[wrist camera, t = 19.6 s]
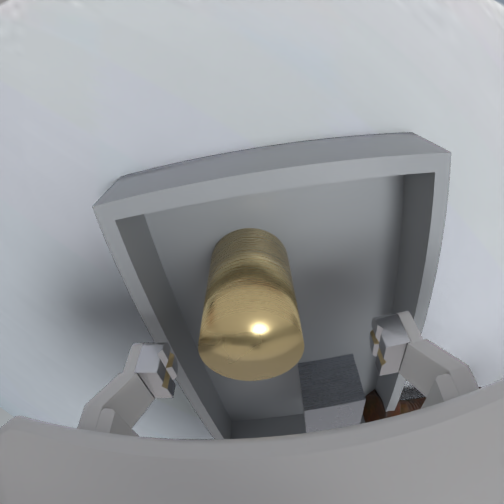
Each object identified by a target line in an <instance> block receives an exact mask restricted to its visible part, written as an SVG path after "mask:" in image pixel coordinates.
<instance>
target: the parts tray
mask: <svg viewBox="0 0 504 504" xmlns="http://www.w3.org/2000/svg"><path fill="white" fill-rule="evenodd" d="M450 167H451V152H449V151H447V150H446V149H444V148H442V147H440V146H438V145H436V144H434V143H432V142H430V141H428V140H426V139H424V138H422V137H420V136H418V135H416V134H414V133H390V134H374V135H360V136H348V137H338V138H328V139H318V140H310V141H302V142H294V143H286V144H279V145H272V146H266V147H259V148H253V149H247V150H241V151H235V152H229V153H224V154H219V155H213V156H208V157H203V158H198V159H193V160H189V161H184V162H179V163H175V164H170V165H166V166H162V167H157V168H153V169H149V170H145V171H141V172H137V173H133V174H129V175H125V176H122V177H121V178H120V179H119V180H118V181H117V182H116V183H115V184H114V185H113V186H112V187H111V188H110V189H109V190H108V191H107V192H106V193H105V194H104V195H103V196H102V197H101V198H100V199H99V200H98V201H97V202H96V203H95V204H94V205H93V206H92V208H93V210H94V213H95V216H96V218H97V221H98V223H99V226H100V228H101V231H102V233H103V236H104V238H105V240H106V243H107V245H108V248H109V250H110V252H111V254H112V257H113V259H114V261H115V264H116V266H117V268H118V270H119V272H120V275H121V277H122V279H123V281H124V283H125V285H126V287H127V290H128V292H129V294H130V296H131V298H132V300H133V302H134V304H135V306H136V308H137V310H138V312H139V314H140V316H141V318H142V320H143V322H144V324H145V325H146V327H147V329H148V331H149V333H150V335H151V337H152V339H153V340H154V342H155V343H158V342H167V343H168V344H169V345H170V347H171V350H170V352H171V353H172V354H174V355H175V357H176V359H177V363H178V373H177V377H176V378H175V379H176V381H177V382H178V384H179V386H180V387H181V389H182V391H183V392H184V394H185V395H186V397H187V399H188V400H189V402H190V403H191V405H192V406H193V408H194V410H195V411H196V413H197V414H198V416H199V417H200V419H201V420H202V422H203V423H204V425H205V426H206V428H207V429H208V431H209V432H210V434H211V435H212V437H213V438H214V439H243V438H260V437H273V436H283V435H293V434H301V433H306V427H305V420H304V412H303V404H302V397H301V389H300V380H299V371H298V363H302V362H308V361H314V360H320V359H326V358H332V357H337V356H342V355H348V354H353V356H354V359H355V363H356V366H357V370H358V373H359V377H360V380H361V384H362V387H363V391H364V394H365V396H366V395H367V394H369V393H370V392H371V391H373V390H374V389H375V390H376V391H377V393H378V394H379V396H380V397H381V399H382V401H383V404H384V408H385V411H386V412H387V411H395V408H396V406H397V403H398V401H399V398H400V396H401V393H402V390H403V388H404V385H405V382H406V379H405V378H404V377H403V376H402V375H400V374H399V372H397V373H392V374H387V375H382V376H379V373H378V370H377V367H376V364H375V362H376V357H375V356H374V355H372V352H371V348H370V339H369V337H370V332H371V331H372V330H373V328H372V325H371V322H372V319H373V318H374V317H379V316H384V315H389V314H394V313H399V312H404V311H409V312H410V314H411V316H412V318H413V320H414V322H415V324H416V326H417V328H418V330H419V332H420V334H421V333H422V330H423V326H424V322H425V319H426V315H427V311H428V307H429V303H430V299H431V295H432V291H433V286H434V282H435V277H436V272H437V267H438V262H439V256H440V251H441V245H442V239H443V232H444V226H445V218H446V210H447V202H448V192H449V181H450ZM245 228H255V229H261V230H264V231H267V232H269V233H271V234H273V235H274V236H276V237H277V238H278V239H279V240H280V241H281V242H282V244H283V245H284V247H285V249H286V251H287V255H288V260H289V265H290V270H291V275H292V281H293V286H294V291H295V296H296V302H297V307H298V312H299V318H300V323H301V329H302V334H303V340H304V352H303V355H302V357H301V359H300V360H299V362H298V363H297V364H296V365H295V366H294V367H293V368H291V369H290V370H288V371H287V372H285V373H283V374H281V375H279V376H276V377H273V378H270V379H265V380H258V381H243V380H236V379H231V378H228V377H225V376H222V375H220V374H218V373H216V372H214V371H213V370H211V369H210V368H209V367H208V366H207V365H206V364H205V363H204V362H203V361H202V359H201V357H200V355H199V351H198V342H199V335H200V328H201V321H202V314H203V308H204V301H205V294H206V288H207V282H208V275H209V269H210V263H211V257H212V252H213V250H214V247H215V246H216V244H217V243H218V242H219V241H220V239H222V238H223V237H224V236H225V235H227V234H229V233H231V232H233V231H236V230H239V229H245ZM362 423H365V420H364V416H363V414H362V418H361V422H360V424H362Z"/></svg>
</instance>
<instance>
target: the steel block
mask: <svg viewBox="0 0 504 504" xmlns="http://www.w3.org/2000/svg"><path fill="white" fill-rule="evenodd" d="M298 371H299V380H300V389H301V397H302V404H303V412H304V420H305V427H306V433H309V432H316V431H323V430H329V429H335V428H341V427H347V426H352V425H357V424H360V422H361V418H362V414H363V410H364V405H365V401H366V398H365V394H364V391H363V387H362V384H361V380H360V377H359V373H358V370H357V366H356V363H355V359H354V356H353V354H348V355H342V356H337V357H332V358H326V359H320V360H314V361H308V362H302V363H298Z"/></svg>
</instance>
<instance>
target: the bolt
mask: <svg viewBox="0 0 504 504" xmlns="http://www.w3.org/2000/svg"><path fill="white" fill-rule="evenodd" d="M480 388H482V387H479V389H480ZM365 398H366V401H365V405H364V410H363V416H364V420H365V423H367V422H371V421H376V420H380V419H384V418H389V417H393V416H397V415H400V414H404V413H408V412H411V411H415V410H418V409H421V407H422V405H423V403H424V401H425V399H426V397H423V398H416V399H410V400H399V401H398V403H397V406H396V408H395V411H387V412H386V411H385V408H384V404H383V401H382V399H381V397H380V396H379V394H378V393H377V391H376V390H375V389H374V390H373V391H371V392H370V393H369V394H367V395H366V396H365Z"/></svg>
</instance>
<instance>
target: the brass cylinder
mask: <svg viewBox="0 0 504 504" xmlns="http://www.w3.org/2000/svg"><path fill="white" fill-rule="evenodd" d="M198 351H199V355H200V357H201V359H202V361H203V362H204V363H205V364H206V365H207V366H208V367H209V368H210V369H211V370H213V371H214V372H216V373H218V374H220V375H222V376H225V377H228V378H231V379H236V380H243V381H258V380H265V379H270V378H273V377H276V376H279V375H281V374H283V373H285V372H287V371H288V370H290V369H291V368H293V367H294V366H295V365H296V364H297V363H298V362H299V360H300V359H301V357H302V355H303V352H304V340H303V334H302V329H301V323H300V318H299V312H298V307H297V302H296V296H295V291H294V286H293V281H292V275H291V270H290V265H289V260H288V255H287V251H286V249H285V247H284V245H283V244H282V242H281V241H280V240H279V239H278V238H277V237H276V236H274V235H273V234H271V233H269V232H267V231H264V230H261V229H255V228H245V229H239V230H236V231H233V232H231V233H229V234H227V235H225V236H224V237H223V238H222V239H220V241H219V242H218V243H217V244H216V246H215V247H214V250H213V252H212V257H211V263H210V269H209V275H208V282H207V288H206V294H205V301H204V308H203V314H202V321H201V328H200V335H199V342H198Z"/></svg>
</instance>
